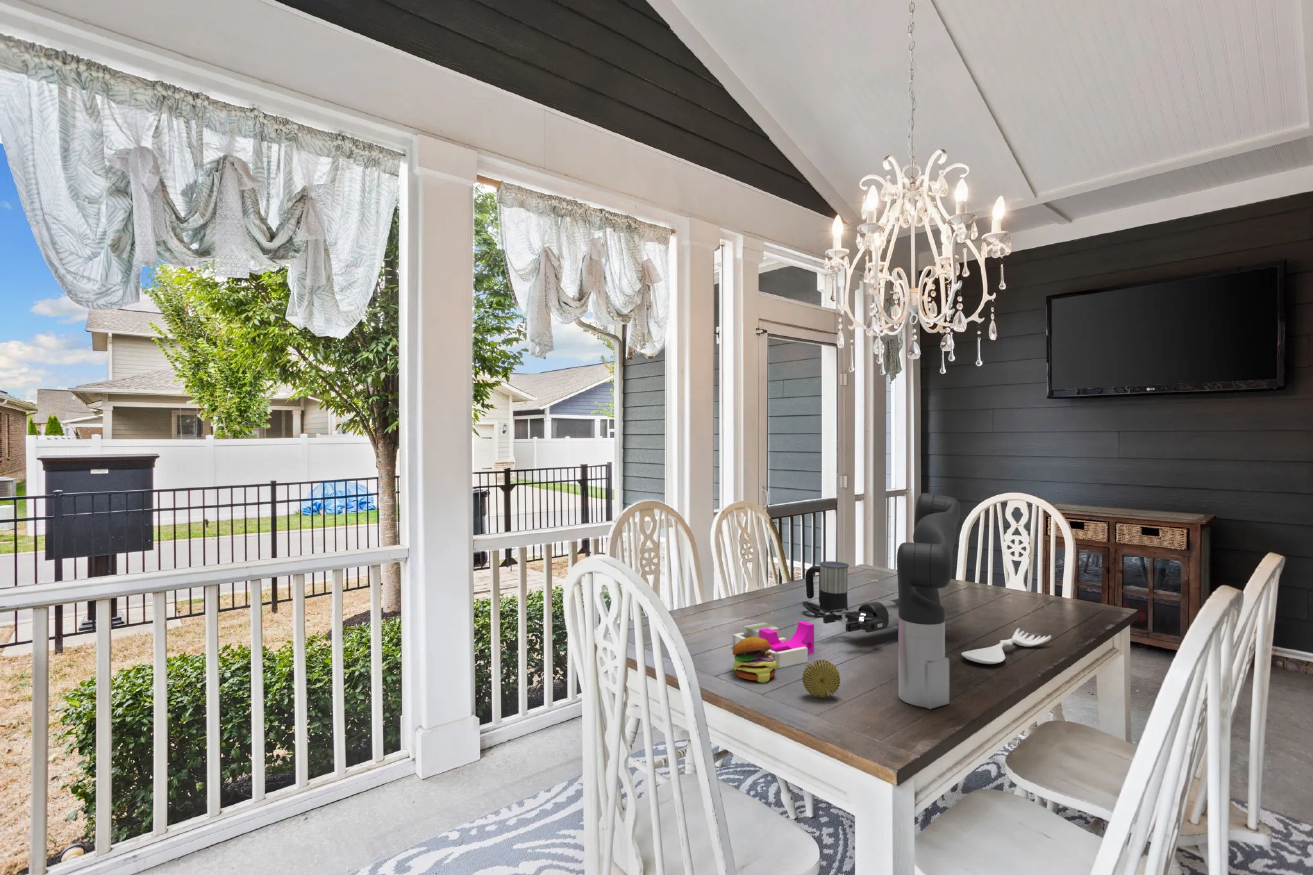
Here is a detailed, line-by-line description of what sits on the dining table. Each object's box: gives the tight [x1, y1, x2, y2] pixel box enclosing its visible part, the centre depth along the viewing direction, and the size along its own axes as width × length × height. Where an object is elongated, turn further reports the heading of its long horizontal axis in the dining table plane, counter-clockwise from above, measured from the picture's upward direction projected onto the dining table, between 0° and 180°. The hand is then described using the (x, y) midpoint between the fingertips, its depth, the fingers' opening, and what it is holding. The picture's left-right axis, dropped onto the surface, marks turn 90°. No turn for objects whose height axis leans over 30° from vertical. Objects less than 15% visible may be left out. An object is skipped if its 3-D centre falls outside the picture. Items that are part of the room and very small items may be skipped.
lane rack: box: [732, 632, 809, 670], centre depth 168 cm, size 18×10×4 cm, turn 28°
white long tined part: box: [961, 627, 1052, 665], centre depth 169 cm, size 9×32×4 cm, turn 125°
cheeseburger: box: [732, 637, 777, 684], centre depth 154 cm, size 10×11×10 cm
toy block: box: [759, 620, 815, 655], centre depth 167 cm, size 15×6×8 cm, turn 119°
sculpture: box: [802, 659, 841, 699], centre depth 141 cm, size 8×4×8 cm, turn 88°
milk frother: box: [802, 560, 850, 617], centre depth 208 cm, size 14×16×15 cm
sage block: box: [743, 622, 780, 638], centre depth 172 cm, size 6×7×6 cm
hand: (835, 623), depth 173 cm, fingers open, 8 cm apart
